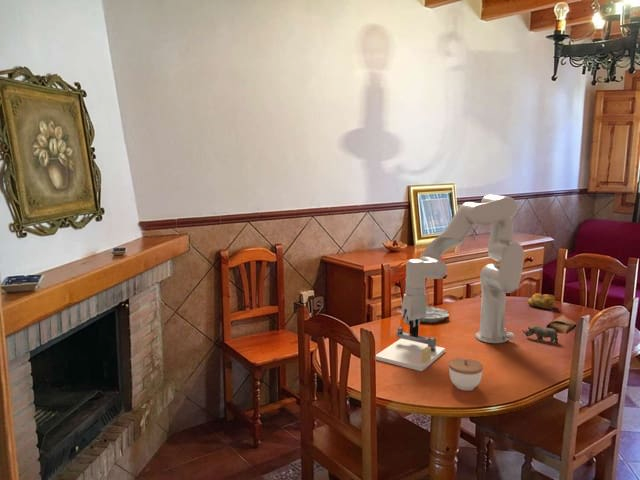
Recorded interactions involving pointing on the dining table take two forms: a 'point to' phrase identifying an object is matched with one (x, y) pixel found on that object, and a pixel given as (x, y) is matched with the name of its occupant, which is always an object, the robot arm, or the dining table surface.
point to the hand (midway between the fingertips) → (413, 335)
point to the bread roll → (542, 301)
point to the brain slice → (435, 315)
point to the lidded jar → (465, 373)
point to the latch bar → (417, 338)
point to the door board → (410, 354)
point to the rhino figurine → (542, 333)
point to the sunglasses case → (561, 324)
